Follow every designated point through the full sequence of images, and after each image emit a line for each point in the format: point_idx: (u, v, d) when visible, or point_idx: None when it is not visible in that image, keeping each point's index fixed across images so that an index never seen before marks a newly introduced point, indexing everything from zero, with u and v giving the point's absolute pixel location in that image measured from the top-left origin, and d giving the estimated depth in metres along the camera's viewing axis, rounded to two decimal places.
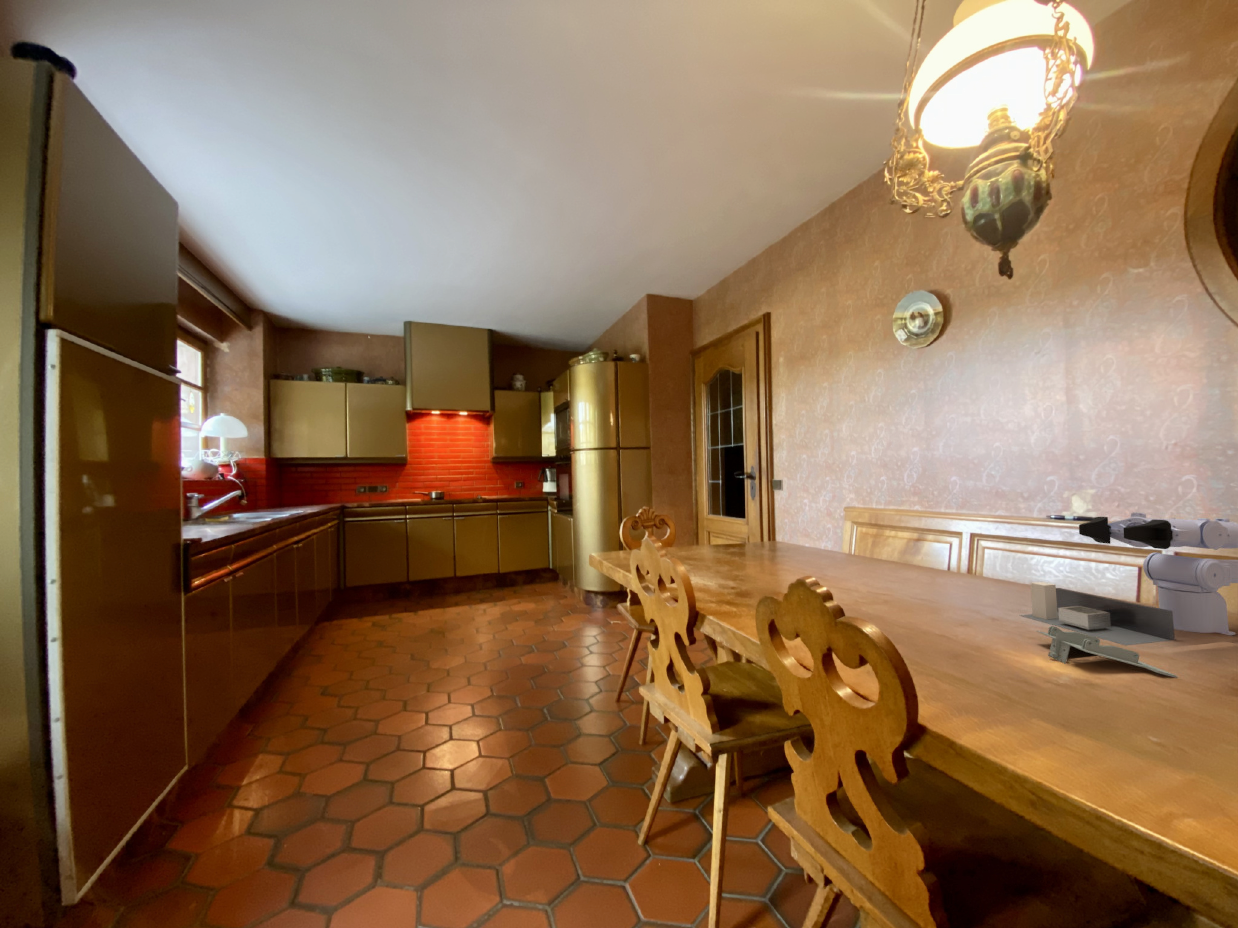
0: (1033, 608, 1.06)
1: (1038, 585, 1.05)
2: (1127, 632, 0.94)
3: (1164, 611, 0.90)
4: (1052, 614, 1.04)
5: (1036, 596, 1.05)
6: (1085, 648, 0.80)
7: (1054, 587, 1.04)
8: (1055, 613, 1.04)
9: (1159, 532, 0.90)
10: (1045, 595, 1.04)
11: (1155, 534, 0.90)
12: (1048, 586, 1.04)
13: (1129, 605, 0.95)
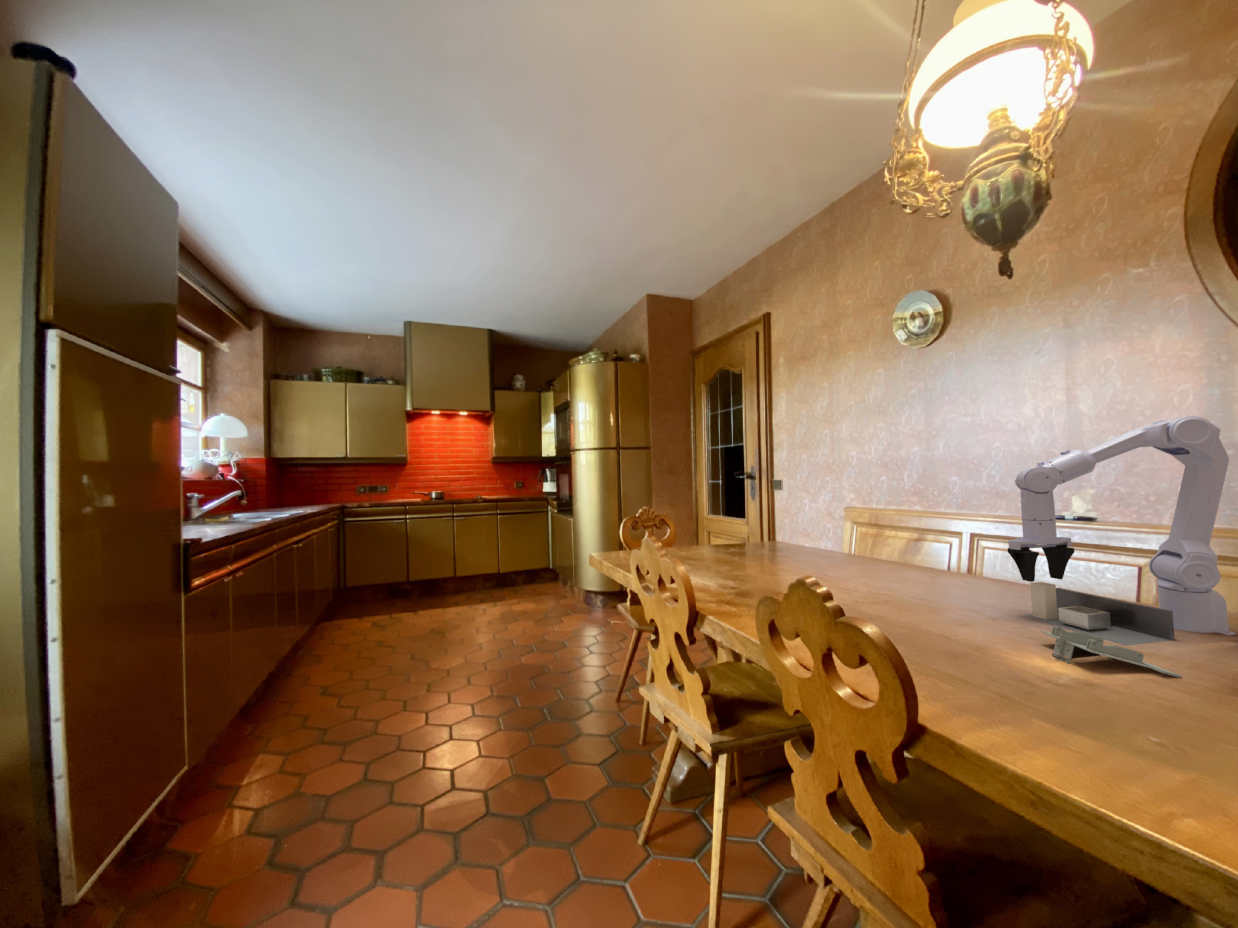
0: (1033, 608, 1.06)
1: (1038, 585, 1.05)
2: (1127, 632, 0.94)
3: (1164, 611, 0.90)
4: (1052, 614, 1.04)
5: (1036, 596, 1.05)
6: (1089, 648, 0.80)
7: (1054, 587, 1.04)
8: (1055, 613, 1.04)
9: None
10: (1045, 595, 1.04)
11: None
12: (1048, 586, 1.04)
13: (1129, 605, 0.95)
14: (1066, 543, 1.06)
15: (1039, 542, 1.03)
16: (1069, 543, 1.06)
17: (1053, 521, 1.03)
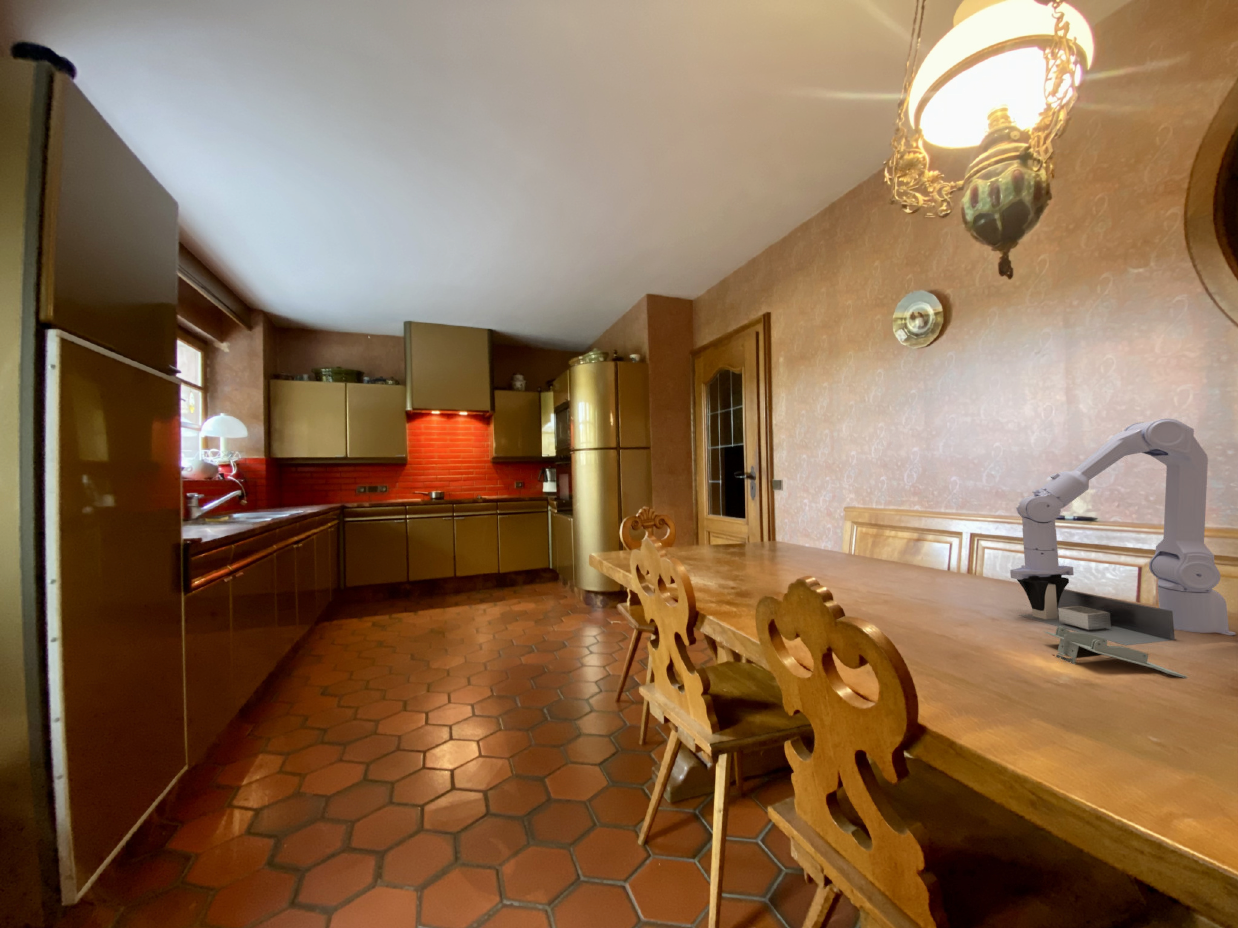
0: None
1: None
2: (1127, 632, 0.94)
3: (1164, 611, 0.90)
4: (1052, 614, 1.04)
5: None
6: (1094, 649, 0.80)
7: (1054, 587, 1.04)
8: (1055, 613, 1.04)
9: None
10: (1045, 595, 1.04)
11: None
12: (1048, 586, 1.04)
13: (1129, 605, 0.95)
14: (1068, 572, 1.06)
15: (1041, 572, 1.03)
16: (1071, 572, 1.05)
17: (1055, 551, 1.03)
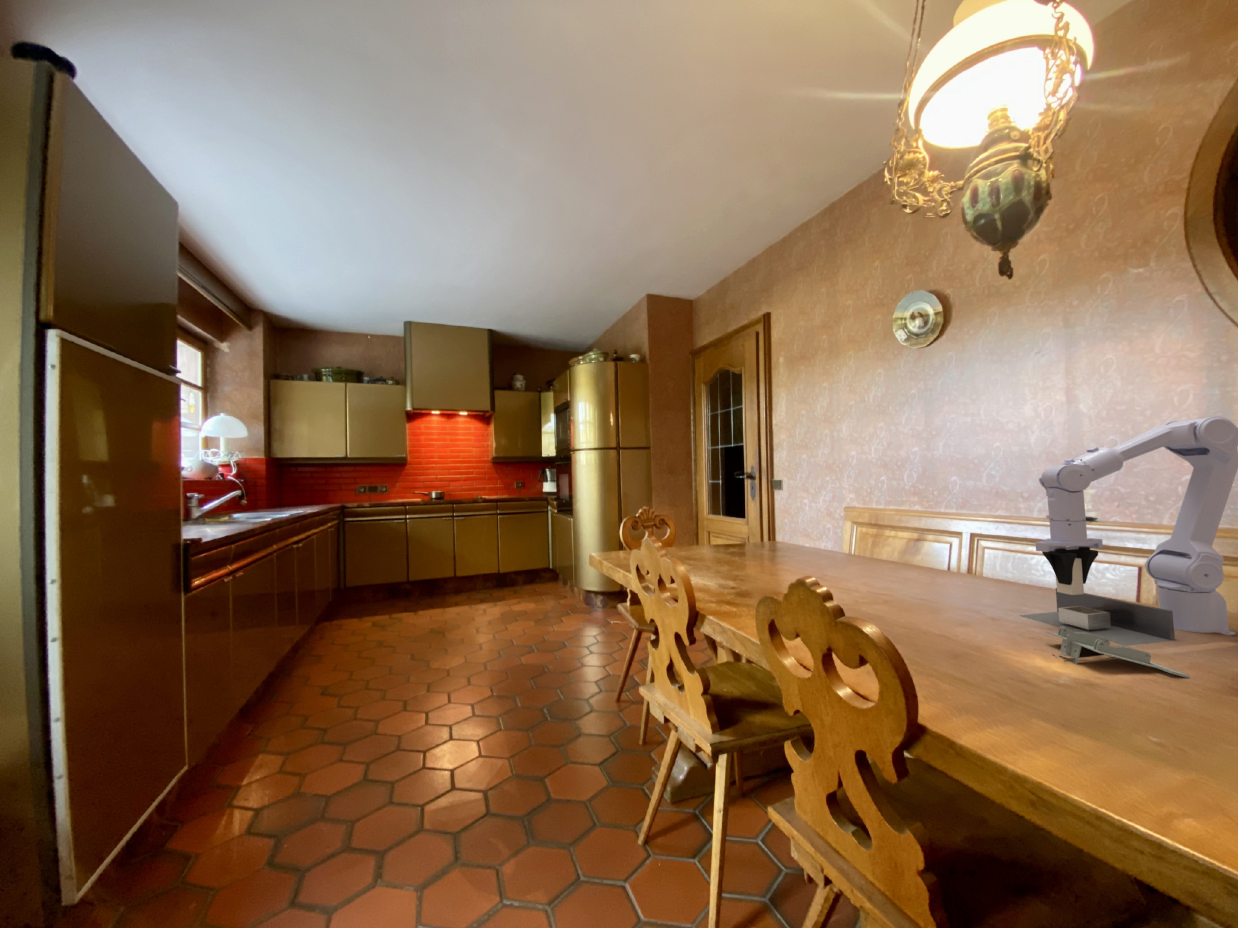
0: (1057, 584, 1.01)
1: None
2: (1127, 632, 0.94)
3: (1164, 611, 0.90)
4: (1078, 590, 0.99)
5: None
6: (1097, 649, 0.80)
7: (1080, 561, 0.99)
8: (1081, 588, 0.99)
9: None
10: None
11: None
12: None
13: (1129, 605, 0.95)
14: (1097, 545, 1.00)
15: (1068, 544, 0.98)
16: (1100, 545, 1.00)
17: (1083, 522, 0.98)
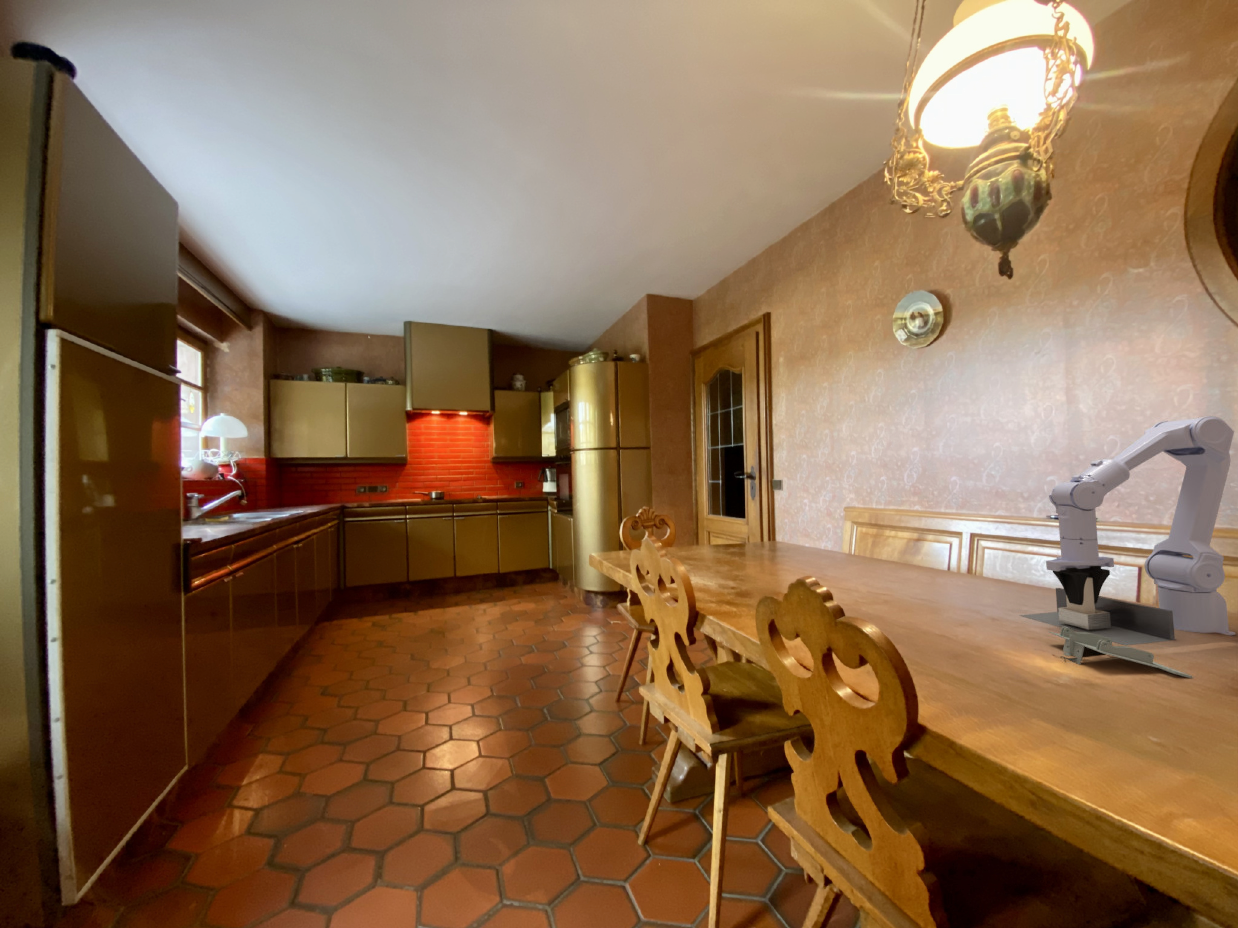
0: (1068, 603, 0.99)
1: None
2: (1127, 632, 0.94)
3: (1164, 611, 0.90)
4: (1089, 610, 0.97)
5: None
6: (1100, 649, 0.80)
7: (1091, 581, 0.97)
8: (1092, 608, 0.97)
9: None
10: None
11: None
12: None
13: (1129, 605, 0.95)
14: (1108, 564, 0.98)
15: (1080, 563, 0.96)
16: (1111, 564, 0.98)
17: (1095, 540, 0.96)
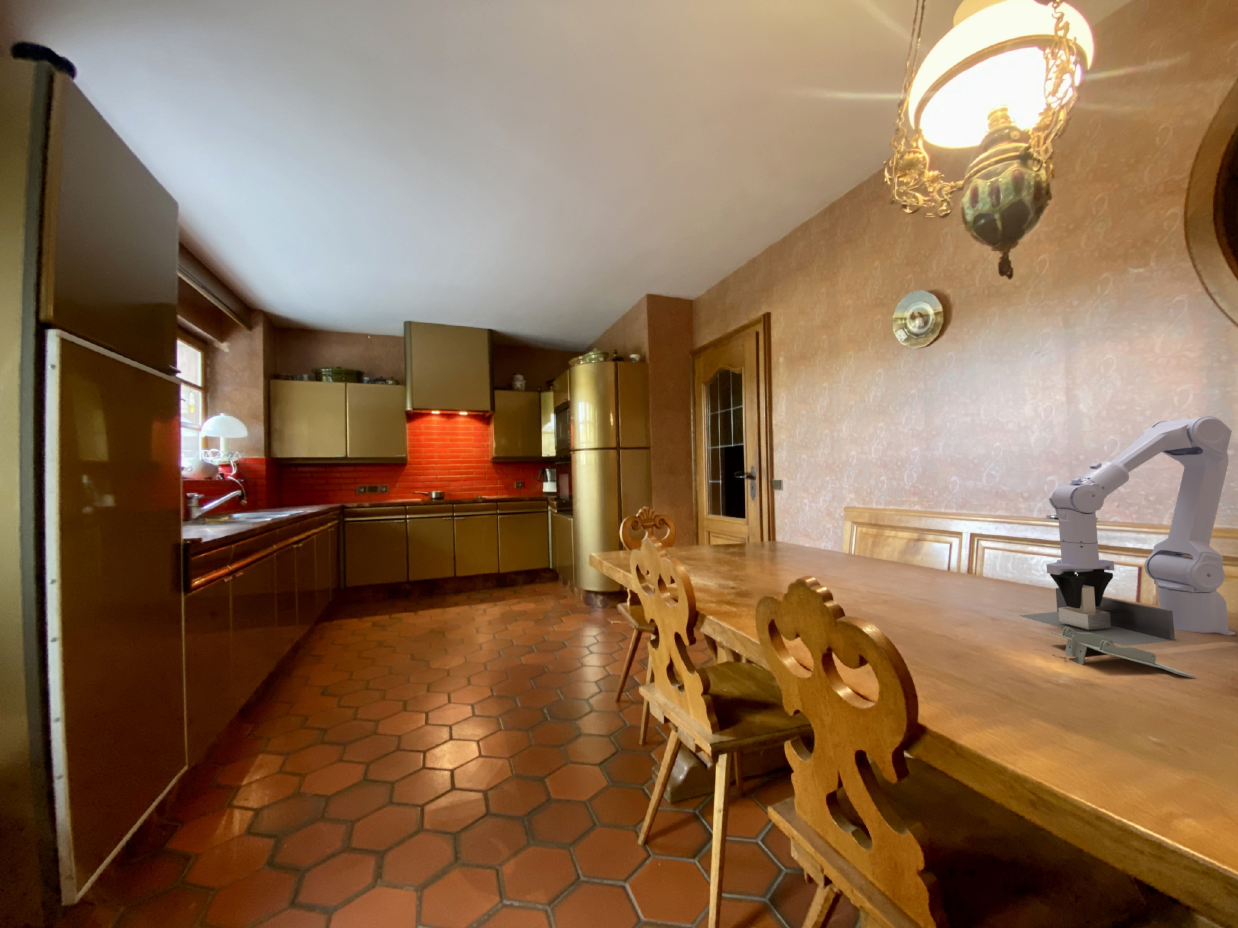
0: None
1: None
2: (1127, 632, 0.94)
3: (1164, 611, 0.90)
4: None
5: None
6: (1103, 649, 0.80)
7: (1092, 590, 0.97)
8: None
9: None
10: (1083, 598, 0.97)
11: None
12: (1086, 588, 0.97)
13: (1129, 605, 0.95)
14: (1108, 567, 0.98)
15: (1080, 566, 0.96)
16: (1112, 567, 0.98)
17: (1095, 544, 0.96)
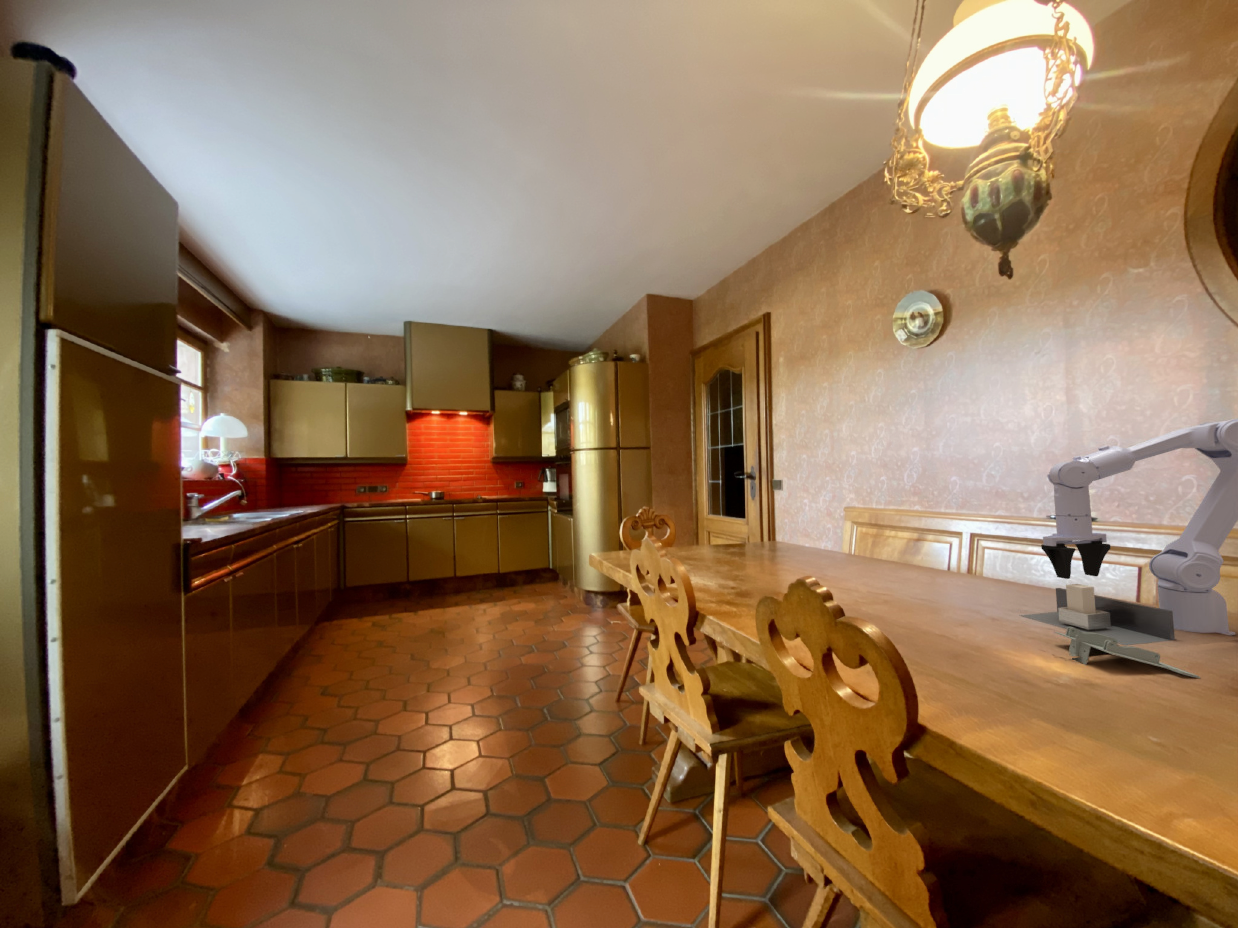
0: None
1: (1075, 587, 0.98)
2: (1127, 632, 0.94)
3: (1164, 611, 0.90)
4: None
5: (1073, 599, 0.98)
6: (1107, 649, 0.80)
7: (1092, 589, 0.97)
8: None
9: None
10: (1082, 598, 0.97)
11: None
12: (1086, 588, 0.97)
13: (1129, 605, 0.95)
14: (1101, 539, 1.04)
15: (1075, 538, 1.01)
16: (1104, 539, 1.03)
17: (1089, 517, 1.01)
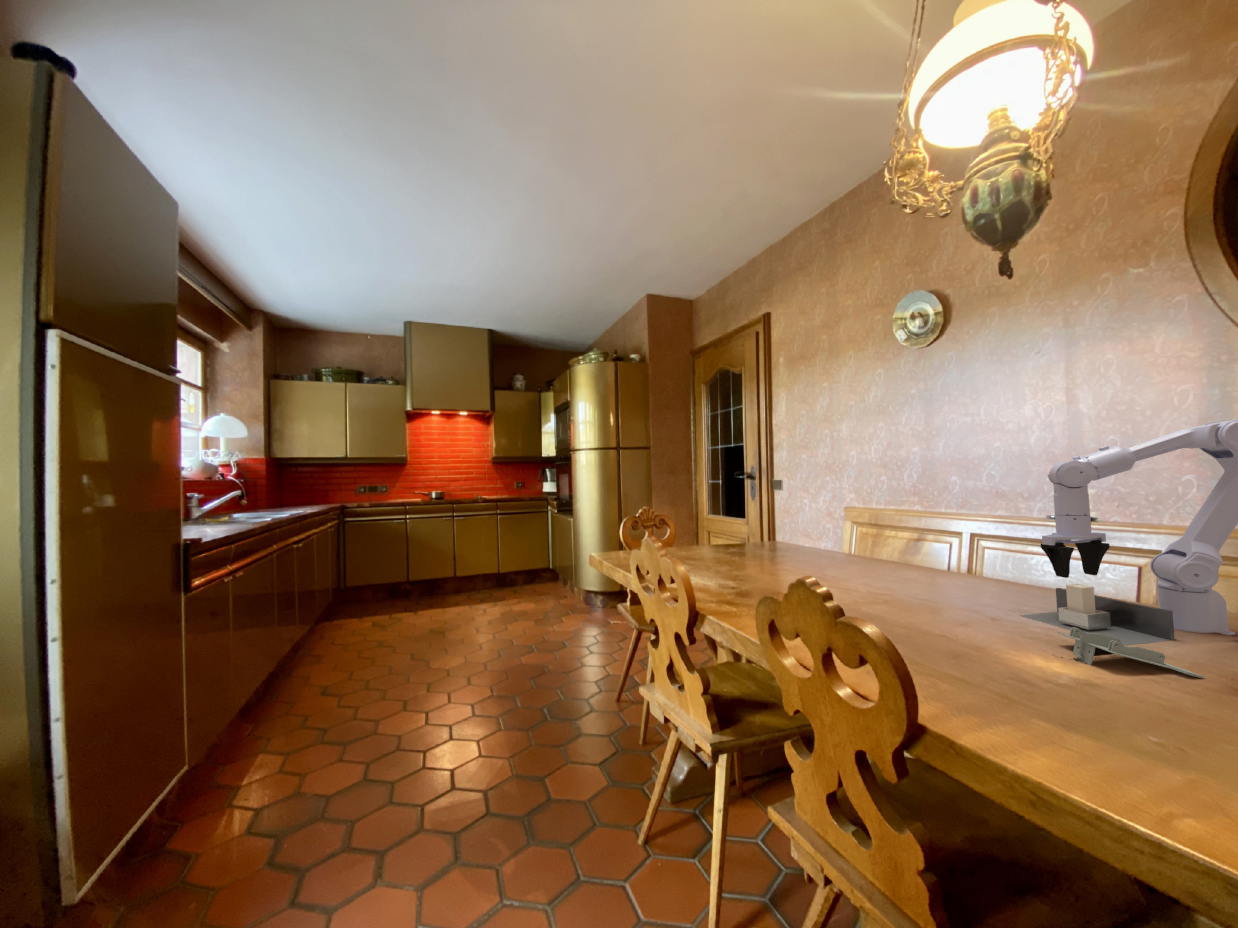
0: None
1: (1075, 587, 0.98)
2: (1127, 632, 0.94)
3: (1164, 611, 0.90)
4: None
5: (1073, 599, 0.98)
6: (1112, 650, 0.79)
7: (1092, 589, 0.97)
8: None
9: None
10: (1082, 598, 0.97)
11: None
12: (1086, 588, 0.97)
13: (1129, 605, 0.95)
14: (1100, 538, 1.04)
15: (1074, 537, 1.02)
16: (1103, 538, 1.04)
17: (1088, 516, 1.02)
